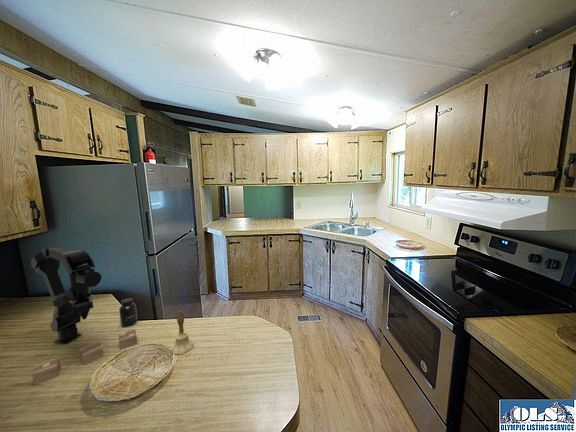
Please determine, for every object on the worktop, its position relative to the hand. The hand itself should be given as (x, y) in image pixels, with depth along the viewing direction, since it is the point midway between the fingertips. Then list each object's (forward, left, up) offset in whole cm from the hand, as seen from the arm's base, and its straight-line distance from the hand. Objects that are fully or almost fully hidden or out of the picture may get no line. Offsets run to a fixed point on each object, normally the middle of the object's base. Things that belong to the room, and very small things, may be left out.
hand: (84, 318), depth 99 cm
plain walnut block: (+7, -5, -13) cm, 15 cm away
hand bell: (+40, +4, -13) cm, 42 cm away
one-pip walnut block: (-1, -15, -13) cm, 20 cm away
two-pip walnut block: (+14, +5, -13) cm, 20 cm away
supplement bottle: (+3, +18, -13) cm, 23 cm away
